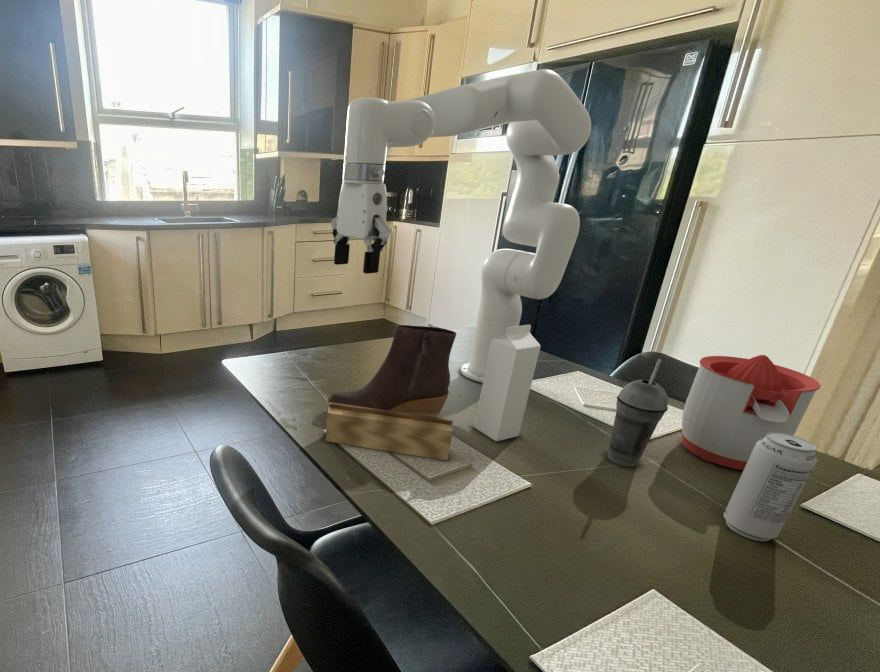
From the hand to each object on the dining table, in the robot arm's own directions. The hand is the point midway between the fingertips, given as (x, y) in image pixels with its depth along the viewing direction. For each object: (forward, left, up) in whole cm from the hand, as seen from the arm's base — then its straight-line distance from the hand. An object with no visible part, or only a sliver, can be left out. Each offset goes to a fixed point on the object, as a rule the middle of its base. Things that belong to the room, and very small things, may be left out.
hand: (355, 268), depth 95 cm
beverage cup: (-52, +7, -30) cm, 60 cm away
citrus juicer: (-71, 0, -30) cm, 77 cm away
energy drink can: (-63, +23, -30) cm, 74 cm away
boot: (-9, +3, -30) cm, 31 cm away
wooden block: (-10, +16, -30) cm, 35 cm away
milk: (-31, +3, -30) cm, 43 cm away
